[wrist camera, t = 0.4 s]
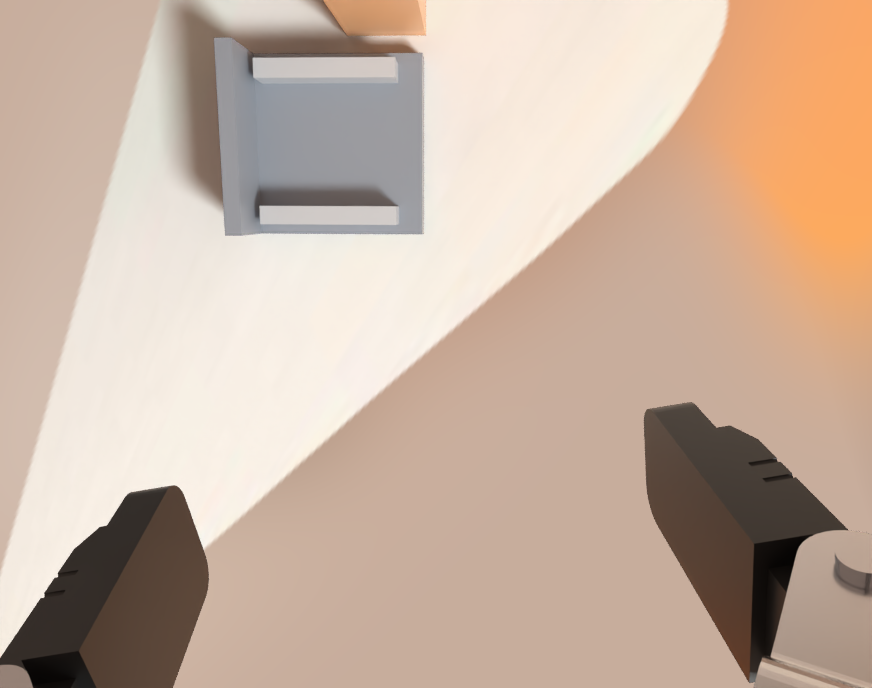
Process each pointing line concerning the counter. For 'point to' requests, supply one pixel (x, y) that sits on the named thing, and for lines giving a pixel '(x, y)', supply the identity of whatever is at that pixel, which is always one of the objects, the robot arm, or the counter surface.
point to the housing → (320, 141)
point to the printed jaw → (380, 17)
